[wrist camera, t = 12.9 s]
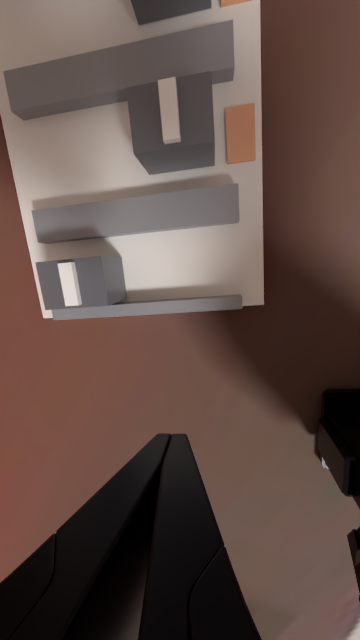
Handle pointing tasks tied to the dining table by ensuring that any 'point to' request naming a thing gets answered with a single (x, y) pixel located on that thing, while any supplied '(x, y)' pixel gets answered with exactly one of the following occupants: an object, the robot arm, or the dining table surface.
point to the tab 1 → (81, 282)
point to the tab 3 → (173, 123)
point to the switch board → (117, 150)
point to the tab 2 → (166, 9)
